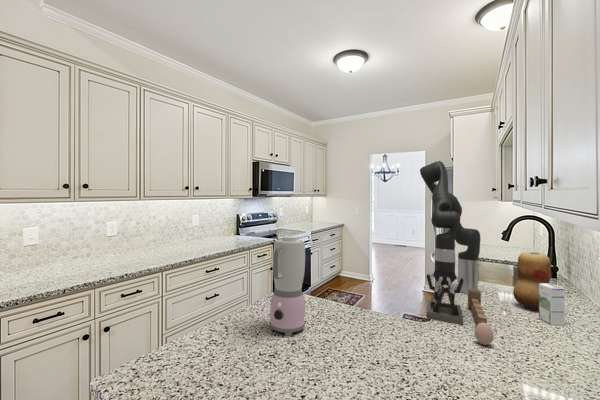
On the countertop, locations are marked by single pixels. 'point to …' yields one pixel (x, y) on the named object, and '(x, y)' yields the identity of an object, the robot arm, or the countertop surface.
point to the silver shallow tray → (444, 316)
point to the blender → (288, 286)
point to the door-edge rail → (476, 306)
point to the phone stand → (438, 302)
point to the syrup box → (552, 304)
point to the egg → (483, 333)
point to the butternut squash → (531, 278)
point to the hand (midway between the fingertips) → (444, 301)
